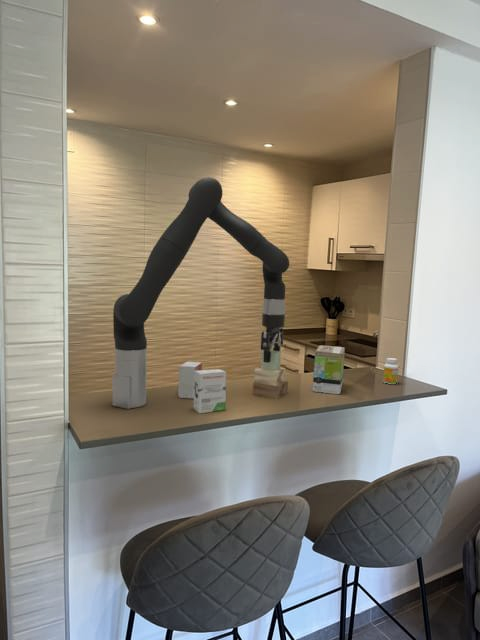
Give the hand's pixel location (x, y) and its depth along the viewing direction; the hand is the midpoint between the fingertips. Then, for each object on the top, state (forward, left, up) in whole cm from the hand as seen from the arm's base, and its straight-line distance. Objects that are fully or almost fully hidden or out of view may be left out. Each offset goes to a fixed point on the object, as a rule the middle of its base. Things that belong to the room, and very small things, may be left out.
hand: (271, 360), depth 153 cm
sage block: (0, 0, -3) cm, 3 cm away
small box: (-16, +22, -12) cm, 30 cm away
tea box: (+19, -15, -12) cm, 27 cm away
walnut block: (0, 0, -12) cm, 12 cm away
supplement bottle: (+40, -34, -12) cm, 54 cm away
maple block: (0, 0, -8) cm, 8 cm away
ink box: (-26, +9, -12) cm, 30 cm away
